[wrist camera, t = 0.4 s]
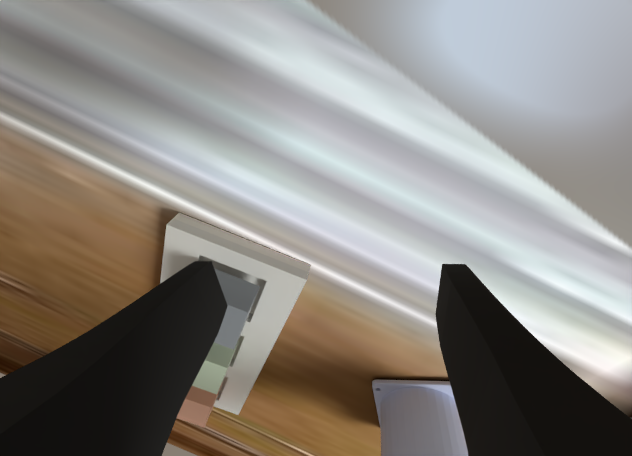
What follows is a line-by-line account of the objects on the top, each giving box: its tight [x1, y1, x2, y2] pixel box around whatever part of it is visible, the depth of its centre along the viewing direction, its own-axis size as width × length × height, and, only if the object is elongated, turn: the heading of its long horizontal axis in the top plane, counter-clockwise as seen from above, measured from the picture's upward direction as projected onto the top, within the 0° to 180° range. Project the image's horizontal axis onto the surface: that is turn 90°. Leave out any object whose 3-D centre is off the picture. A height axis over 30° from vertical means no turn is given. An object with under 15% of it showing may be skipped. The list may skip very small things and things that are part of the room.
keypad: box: [160, 213, 311, 415], centre depth 27 cm, size 22×10×2 cm, turn 159°
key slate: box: [214, 269, 260, 350], centre depth 21 cm, size 4×4×2 cm
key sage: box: [192, 342, 238, 394], centre depth 25 cm, size 4×4×2 cm
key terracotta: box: [177, 382, 223, 427], centre depth 29 cm, size 4×4×2 cm
